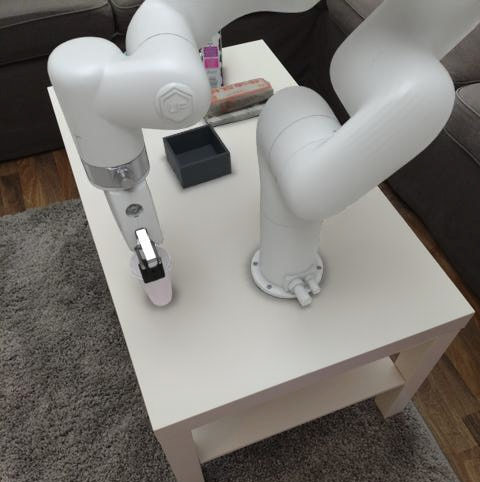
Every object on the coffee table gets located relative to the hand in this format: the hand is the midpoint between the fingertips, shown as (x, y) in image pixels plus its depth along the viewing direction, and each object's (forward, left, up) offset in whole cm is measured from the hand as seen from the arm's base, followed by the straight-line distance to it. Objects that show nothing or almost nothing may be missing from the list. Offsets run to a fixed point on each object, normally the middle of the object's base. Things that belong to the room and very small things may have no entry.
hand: (144, 255), depth 66 cm
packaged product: (+44, -35, -11) cm, 57 cm away
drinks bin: (+29, -19, -11) cm, 36 cm away
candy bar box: (+57, -34, -11) cm, 67 cm away
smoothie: (0, -1, -11) cm, 11 cm away
